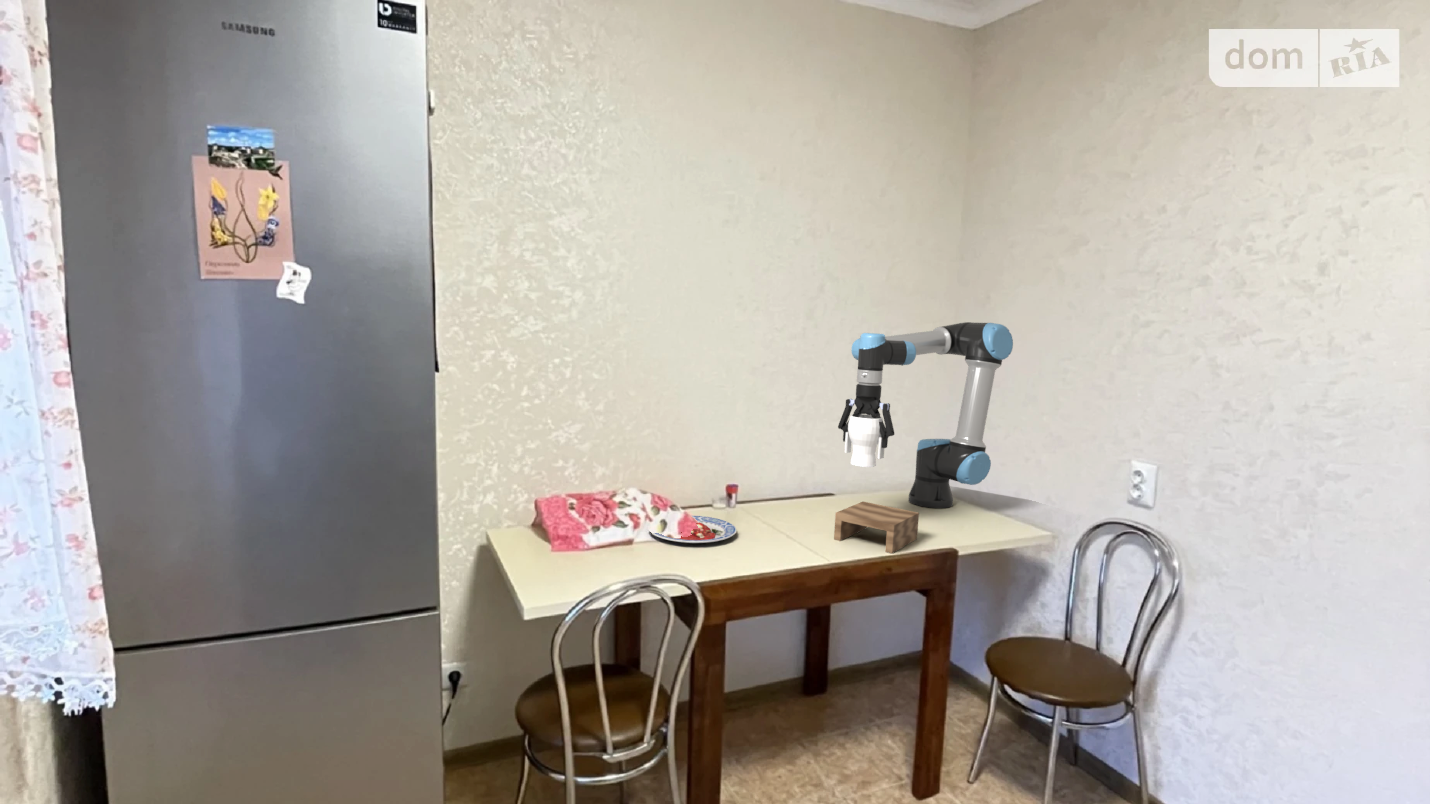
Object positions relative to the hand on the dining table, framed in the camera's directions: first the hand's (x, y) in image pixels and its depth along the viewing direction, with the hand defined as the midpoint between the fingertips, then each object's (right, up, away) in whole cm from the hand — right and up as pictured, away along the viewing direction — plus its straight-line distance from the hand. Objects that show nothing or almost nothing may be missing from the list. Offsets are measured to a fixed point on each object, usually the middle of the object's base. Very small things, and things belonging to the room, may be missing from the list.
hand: (863, 455), depth 223 cm
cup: (0, -3, 0) cm, 3 cm away
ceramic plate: (-53, -23, -12) cm, 58 cm away
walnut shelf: (+1, -24, -10) cm, 26 cm away
